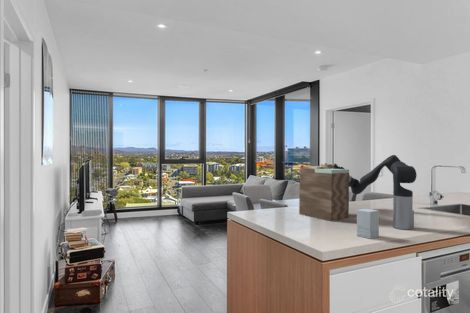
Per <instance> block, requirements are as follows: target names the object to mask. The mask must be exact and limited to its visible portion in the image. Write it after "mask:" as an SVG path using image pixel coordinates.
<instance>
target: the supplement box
mask: <svg viewBox="0 0 470 313" xmlns="http://www.w3.org/2000/svg"><path fill="white" fill-rule="evenodd" d="M379 213H380V212H379V210H378V209H377V210H376V209H370V208H362V209H361V208H360V209H357V210H356V237H362V238H365V239H369V240H370V239H375V238H379V236H380V235H379V234H380V233H379V232H380V229H379V228H380V226H379V225H380V224H379V223H380V222H379V221H380V220H379V219H380V218H379V217H380V216H379V215H380V214H379Z"/></svg>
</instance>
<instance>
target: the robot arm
mask: <svg viewBox="0 0 470 313" xmlns="http://www.w3.org/2000/svg"><path fill="white" fill-rule="evenodd" d="M324 164H328V163H324ZM333 164H334V165H333V167H335V168H329V169H345V168H344V167H343V166H340V165H338V164H337V163H333ZM336 164H337V165H336ZM385 167H386V168H387V170H388V171H389V172H390V173H391V174H392V182H393V186H392V187H393V191H392V193H393V194H392V206H393V207H392V227H393V228H394V229H398V230H412V229H414V228H415V210H413V194H414V193H413V191H412V190H410V189H408V188H405V187H403V186H402V185H401V184H412V183H415V181H416V179H417V175H418V174H417V171H416V169H415V168H414V166H412V165H408V164H406V163H405V162H403V161H402V160H400V158H399V157H398V155H395V154H393V155H390V156H388V157H387V158H385V159H384V160H383V161H382V162H381V163H379V164H378V165H376V166H375V167H374V168H373V169H372V170H371V171H370V172H368V173H366V174H365V175H363V176H362V177H360V179H357V178H354V177H352V176H351V174H349V188H350V189H351V193H352V195H353V194H354V195H359V194H362V192H364V191H365V190H366V189H367V187H368V186H370V185H372V184H373V183H374V182H375V181H377V180H378V178H379V176H380V173H381V172H382V169H383V168H385Z"/></svg>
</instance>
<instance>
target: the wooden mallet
mask: <svg viewBox="0 0 470 313" xmlns="http://www.w3.org/2000/svg"><path fill="white" fill-rule="evenodd" d="M334 164H336V165H338V164H337V163H327V164H325V163H324V164H320V165H315V166H314V165H313V166H312V165H309V166H308V165H307V166H305V165H304V166H303V168H309V169H329V168H332V169H333V168H335V167H333V165H334Z"/></svg>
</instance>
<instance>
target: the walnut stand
mask: <svg viewBox="0 0 470 313" xmlns="http://www.w3.org/2000/svg"><path fill="white" fill-rule="evenodd" d="M349 175H350V169H347V168H344V169H333V168H332V169H309V168H304V167H303V168H302V167H300V168H299V189H298V190H299V198H298V200H299V201H298V202H299V203H298V206H299V209H298V210H299V212H298V213H299V214H298V215H302V216H306V217H309V218H313V219H320V220H324V221H327V222H336V221H342V220H348V219H349V214H350V213H349V212H350V209H349V208H350V206H349V205H350V200H349V199H350V187H349Z"/></svg>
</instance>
